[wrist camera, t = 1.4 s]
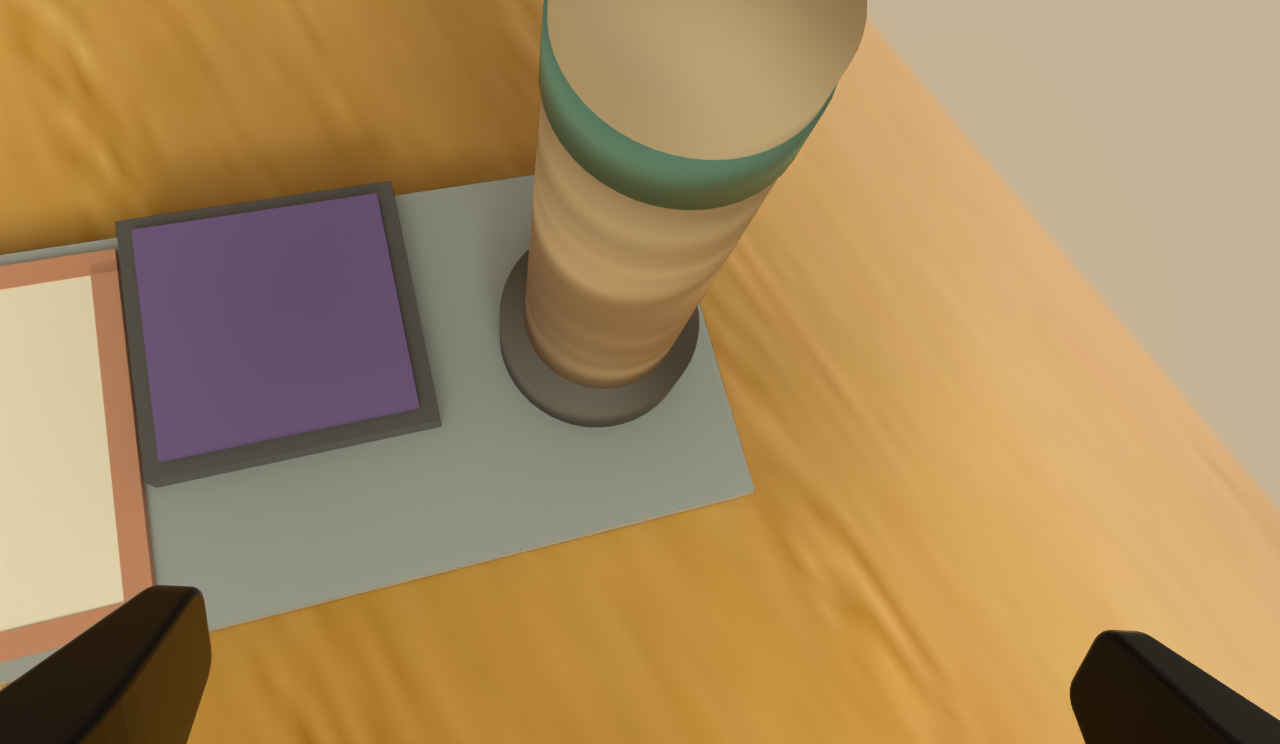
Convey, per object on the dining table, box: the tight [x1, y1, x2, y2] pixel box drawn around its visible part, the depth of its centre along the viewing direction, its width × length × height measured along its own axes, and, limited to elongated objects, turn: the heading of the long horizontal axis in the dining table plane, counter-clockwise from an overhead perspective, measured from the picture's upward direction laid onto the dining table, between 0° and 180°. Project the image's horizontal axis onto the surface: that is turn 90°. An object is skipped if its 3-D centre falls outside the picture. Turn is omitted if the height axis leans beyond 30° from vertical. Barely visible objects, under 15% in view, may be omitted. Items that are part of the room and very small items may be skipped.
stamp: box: [500, 0, 867, 428], centre depth 16 cm, size 5×5×13 cm
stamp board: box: [0, 175, 755, 685], centre depth 20 cm, size 24×10×2 cm, turn 105°
